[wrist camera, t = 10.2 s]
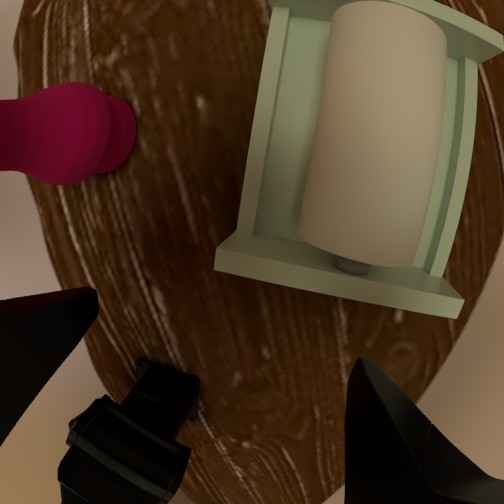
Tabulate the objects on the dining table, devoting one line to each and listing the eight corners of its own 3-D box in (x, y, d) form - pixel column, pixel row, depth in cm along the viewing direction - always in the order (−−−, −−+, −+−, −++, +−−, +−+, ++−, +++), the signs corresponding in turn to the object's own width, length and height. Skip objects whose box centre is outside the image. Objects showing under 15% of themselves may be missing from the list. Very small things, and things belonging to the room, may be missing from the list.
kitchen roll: (329, 34, 14) (335, -18, 8) (424, 60, 14) (465, 25, 8) (298, 225, 18) (292, 257, 12) (393, 246, 18) (428, 285, 12)
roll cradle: (425, 287, 19) (453, 325, 14) (237, 247, 21) (213, 276, 16) (465, 53, 13) (502, 30, 8) (277, 3, 15) (265, -39, 10)
